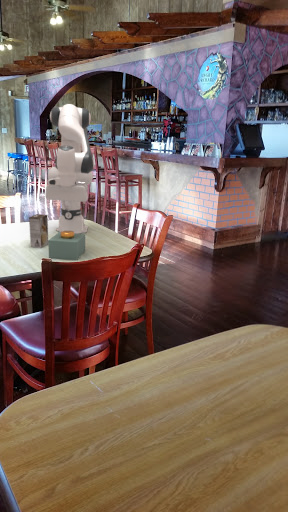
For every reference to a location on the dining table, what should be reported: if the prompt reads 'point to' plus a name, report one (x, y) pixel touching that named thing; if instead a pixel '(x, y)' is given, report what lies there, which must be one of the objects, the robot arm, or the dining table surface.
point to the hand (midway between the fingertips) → (67, 209)
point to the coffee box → (38, 230)
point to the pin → (67, 234)
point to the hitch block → (66, 247)
